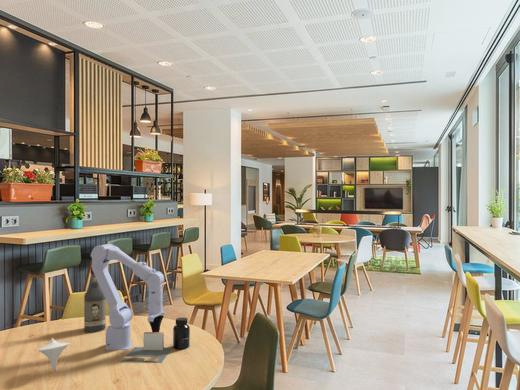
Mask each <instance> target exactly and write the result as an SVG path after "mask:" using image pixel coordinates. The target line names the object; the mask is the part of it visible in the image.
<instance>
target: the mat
mask: <svg viewBox="0 0 520 390" xmlns="http://www.w3.org/2000/svg"><path fill="white" fill-rule="evenodd" d="M172 349H174V348H173V346H172V347H165V346H164V350H144V346H140V347H139V346H134V347H133V348H132V349H131V350H130V351H129V353H127V354H126V356H128V357H160V358H159V360H158V361H157V362H144V361H121V360H120V362H119V363H122V364H123V363H129V364H132V363H133V364H140V363H141V364H162V363H163V362H164V360H165V359H166V358H167V356H168V355H169V353H170V352H171V350H172Z"/></svg>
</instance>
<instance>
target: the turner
mask: <svg viewBox="0 0 520 390" xmlns="http://www.w3.org/2000/svg"><path fill="white" fill-rule="evenodd" d="M159 358H160V357H128V356H127V355H125V356H122V357H121V360H120V362H121V361H144V362H157V361H158V360H159Z"/></svg>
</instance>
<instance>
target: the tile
mask: <svg viewBox="0 0 520 390" xmlns="http://www.w3.org/2000/svg"><path fill="white" fill-rule="evenodd" d="M164 339H165V332H163V331H162V332H161V331H159V332H152V331H145V332H143V347H144V350H164V347H165V342H164V341H165V340H164Z"/></svg>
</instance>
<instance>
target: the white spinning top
mask: <svg viewBox="0 0 520 390" xmlns="http://www.w3.org/2000/svg"><path fill="white" fill-rule="evenodd" d="M70 344H71V343H70V342H66V341H57V340H56V339H54V338H53V337H51V339H50V341H48V342H47V343H45V344H44V345H42V346H41V347H39V348H38V349H37V350H36V351H37V352H40V353H42V354H43V355H45V357H46V358H47V359H48V360H49V363H50V366H51V369H52V372H53V373H54V371H56V368H57V363H58V361H59V358H60V356H61V354H62V353H63V351H64V350H65V349H66V348H67V347H68V346H69V345H70Z"/></svg>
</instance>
